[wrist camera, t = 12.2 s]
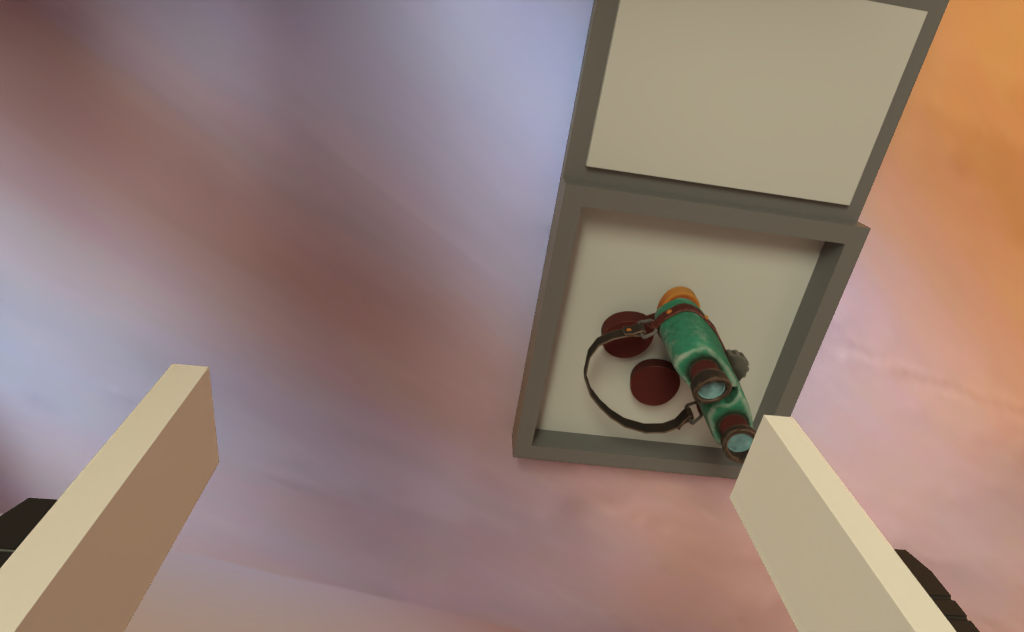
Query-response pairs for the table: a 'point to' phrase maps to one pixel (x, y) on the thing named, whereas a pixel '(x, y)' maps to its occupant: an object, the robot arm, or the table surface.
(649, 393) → the binoculars
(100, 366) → the table surface
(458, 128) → the table surface
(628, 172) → the case
